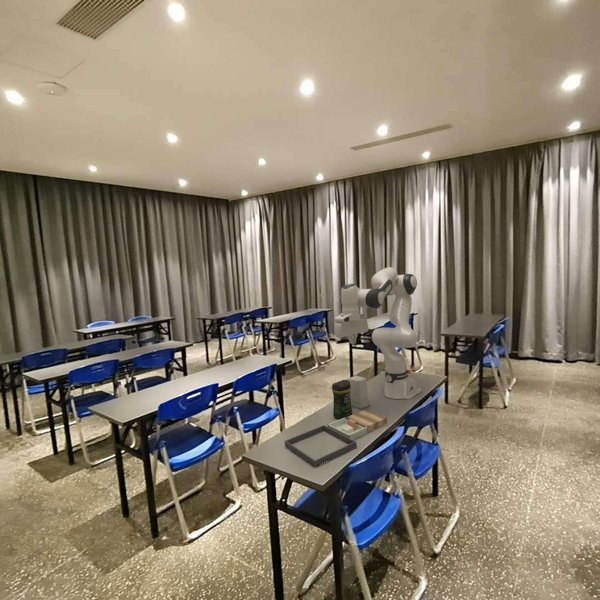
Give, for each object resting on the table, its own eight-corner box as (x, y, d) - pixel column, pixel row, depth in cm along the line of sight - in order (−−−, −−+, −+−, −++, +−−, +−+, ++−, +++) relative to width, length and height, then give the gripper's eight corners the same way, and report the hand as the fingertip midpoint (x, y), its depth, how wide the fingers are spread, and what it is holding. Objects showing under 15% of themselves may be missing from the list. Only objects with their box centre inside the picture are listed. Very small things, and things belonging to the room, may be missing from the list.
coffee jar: (342, 421, 178) (340, 385, 176) (331, 417, 184) (328, 382, 182) (355, 415, 185) (353, 380, 183) (343, 411, 191) (341, 377, 189)
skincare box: (369, 405, 195) (367, 378, 193) (361, 409, 191) (359, 381, 189) (357, 402, 201) (355, 375, 200) (349, 405, 197) (347, 378, 196)
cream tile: (341, 427, 167) (341, 431, 167) (347, 430, 164) (347, 434, 164) (347, 424, 170) (347, 428, 170) (353, 427, 166) (353, 431, 166)
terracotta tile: (350, 418, 171) (347, 420, 170) (356, 421, 168) (353, 422, 167) (350, 426, 171) (347, 428, 170) (356, 429, 168) (353, 431, 167)
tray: (345, 423, 177) (344, 417, 176) (367, 433, 164) (367, 427, 164) (328, 430, 170) (327, 424, 170) (349, 442, 158) (349, 435, 158)
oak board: (365, 415, 184) (365, 409, 183) (386, 423, 172) (386, 417, 172) (346, 423, 176) (346, 417, 176) (367, 432, 165) (366, 426, 165)
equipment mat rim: (324, 429, 171) (324, 424, 171) (356, 447, 153) (356, 441, 153) (285, 446, 159) (284, 440, 159) (315, 467, 141) (314, 461, 140)
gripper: (361, 312, 191) (363, 338, 192) (331, 318, 179) (333, 346, 180) (370, 313, 185) (371, 340, 187) (340, 319, 174) (342, 347, 175)
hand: (352, 343), depth 183 cm, fingers closed
